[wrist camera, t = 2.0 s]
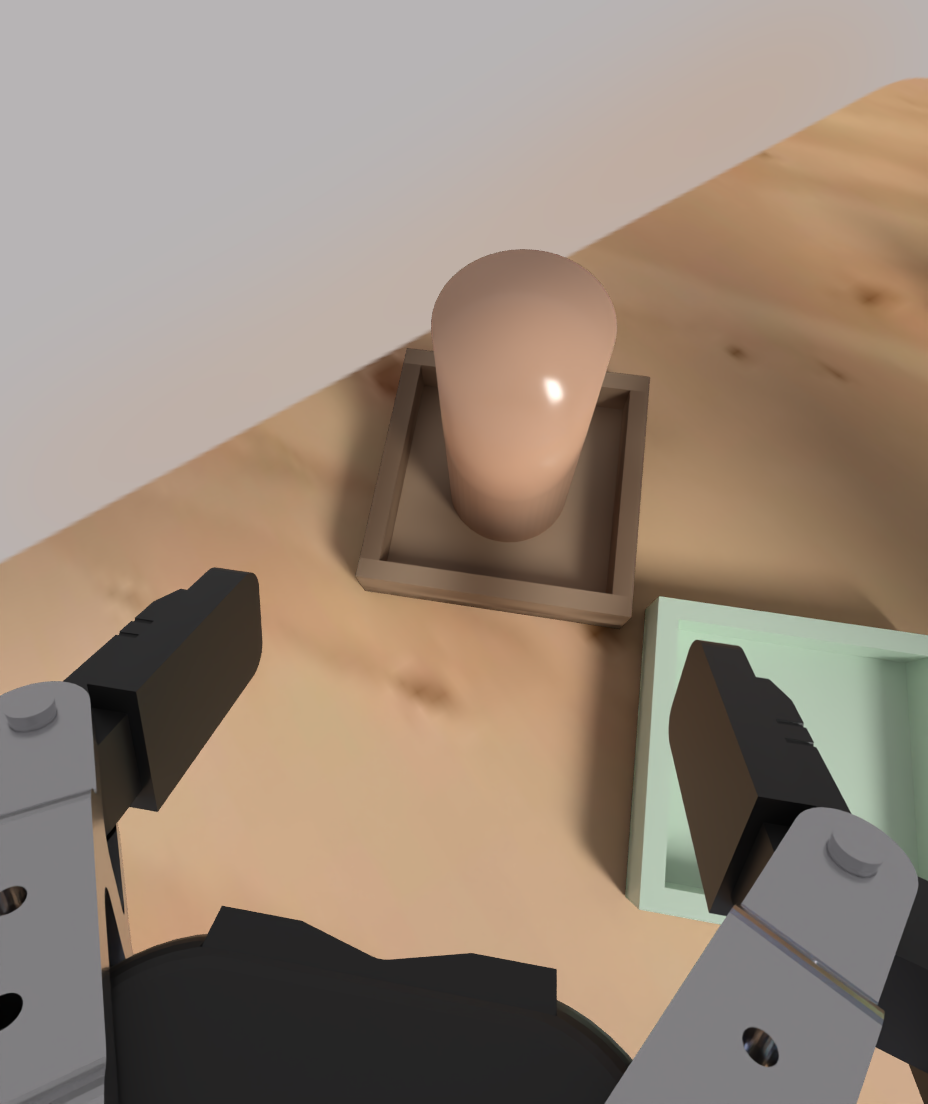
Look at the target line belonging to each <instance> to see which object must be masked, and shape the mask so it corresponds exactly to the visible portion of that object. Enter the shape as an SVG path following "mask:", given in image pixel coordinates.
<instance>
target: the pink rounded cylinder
mask: <svg viewBox="0 0 928 1104" xmlns="http://www.w3.org/2000/svg"><path fill="white" fill-rule="evenodd" d="M431 332H432V341H433V349H434V358H435V366H436V375H437V383H438V391H439V400H440V408H441V417H442V425H443V433H444V442H445V450H446V459H447V467H448V475H449V484H450V492H451V498H452V502H453V505H454V508H455V510H456V512H457V514H458V516H459V517H460V518H461V520H462V521H463V522H464V523H465V524H466V525H467V526H468V527H469V528H470V529H471V530H473V531H474V532H476V533H477V534H479V535H481V536H483V537H485V538H488V539H491V540H494V541H499V542H519V541H524V540H528V539H531V538H533V537H536V536H538V535H540V534H541V533H543V532H544V531H546V530H547V529H548V528H549V527H551V526H552V525H553V523H554V522H555V521H556V520H557V519H558V517H559V516H560V514H561V512H562V510H563V508H564V505H565V502H566V499H567V496H568V492H569V489H570V486H571V483H572V480H573V476H574V473H575V470H576V467H577V464H578V460H579V457H580V454H581V451H582V448H583V444H584V441H585V438H586V435H587V432H588V428H589V425H590V422H591V419H592V416H593V412H594V409H595V406H596V403H597V399H598V396H599V393H600V390H601V387H602V383H603V380H604V377H605V374H606V371H607V367H608V364H609V361H610V358H611V355H612V351H613V348H614V345H615V341H616V335H617V319H616V312H615V309H614V306H613V303H612V301H611V299H610V296H609V294H608V293H607V291H606V290H605V288H604V287H603V285H602V284H601V283H600V282H599V281H598V280H597V278H596V277H595V276H593V275H592V274H591V273H590V272H589V271H588V270H586V269H585V268H583V267H582V266H580V265H579V264H577V263H575V262H573V261H572V260H570V259H567V258H565V257H562V256H560V255H557V254H553V253H549V252H545V251H539V250H525V249H520V250H508V251H502V252H498V253H494V254H490V255H487V256H485V257H482V258H480V259H478V260H476V261H474V262H472V263H470V264H468V265H467V266H465V267H464V268H463V269H461V270H460V271H459V272H458V273H456V274H455V275H454V276H453V277H452V278H451V279H450V280H449V281H448V283H447V284H446V285H445V286H444V288H443V289H442V291H441V293H440V294H439V296H438V298H437V300H436V302H435V306H434V309H433V313H432V320H431Z"/></svg>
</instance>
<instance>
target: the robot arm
mask: <svg viewBox="0 0 928 1104" xmlns="http://www.w3.org/2000/svg"><path fill="white" fill-rule="evenodd" d="M261 653H262V628H261V613H260V597H259V583H258V579H257V577H256V575H255V574H254V573H249V572H243V571H236V570H229V569H222V568H211V569H210V570H208V571H207V572H206V573H205V574H204V575H203V576H202V577H201V578H200V579H199V580H197V581H196V582H195V583H194V584H193V585H192V586H191V587H190V588H189V589H188V590H184V589H179V590H177V591H175V592H173V593H171V594H169V595H166V596H164V597H162V598H160V599H158V600H156V601H154V602H153V603H151V604H150V605H149V606H148V607H147V608H146V609H145V610H143V611H142V612H141V613H140V614H139V615H138V616H137V617H135V621H131V622H130V623H129V624H128V625H126V626H125V627H124V628H123V629H122V630H121V631H120V633H119V635H115V636H114V637H113V638H112V639H111V640H109V641H108V642H107V643H106V644H105V645H104V646H103V647H101V648H100V649H99V650H98V651H97V652H96V653H95V654H93V655H92V656H91V657H90V658H89V659H88V660H87V661H86V662H84V663H83V664H82V665H81V666H80V667H79V668H78V669H76V670H75V671H74V672H73V673H72V674H71V675H70V676H69V677H67V678H66V679H65V680H64V681H63V682H61V681H50V682H41V683H35V684H30V685H26V686H23V687H20V688H17V689H14V690H12V691H9V692H7V693H5V694H3V695H1V696H0V1104H856V1103H857V1100H858V1097H859V1094H860V1091H861V1088H862V1085H863V1082H864V1079H865V1076H866V1073H867V1070H868V1067H869V1064H870V1061H871V1058H872V1055H873V1052H874V1049H875V1047H877V1048H878V1049H880V1050H882V1051H884V1052H886V1053H888V1054H890V1055H892V1056H894V1057H896V1058H898V1059H900V1060H902V1061H904V1062H906V1063H908V1064H909V1066H910V1069H911V1071H912V1074H913V1076H914V1079H915V1082H916V1084H917V1087H918V1089H919V1092H920V1095H921V1097H922V1100H923V1102H924V1104H928V881H927V880H925V879H923V878H921V877H918V876H917V874H916V871H915V868H914V866H913V864H912V863H911V861H910V859H909V858H908V856H907V855H906V854H905V852H904V851H903V850H902V849H901V848H900V847H899V845H898V844H897V843H896V842H895V841H893V840H892V839H891V838H890V837H889V836H888V835H887V834H885V833H884V832H883V831H881V830H880V829H879V828H877V827H876V826H874V825H872V824H871V823H869V822H867V821H866V820H864V819H862V818H860V817H858V816H855V815H853V814H851V812H850V810H849V808H848V806H847V804H846V802H845V800H844V798H843V797H842V795H841V793H840V791H839V789H838V787H837V785H836V783H835V781H834V779H833V778H832V776H831V774H830V772H829V770H828V768H827V766H826V764H825V762H824V760H823V758H822V757H821V755H820V753H819V751H818V749H817V747H814V741H813V739H812V738H811V736H810V734H809V732H808V730H807V728H805V727H804V722H803V720H802V719H801V717H800V715H799V713H798V711H797V709H796V707H795V705H794V703H793V701H792V700H791V699H790V698H789V697H788V696H787V695H786V694H785V693H784V692H783V691H781V690H780V689H779V688H778V687H777V686H776V685H775V684H774V683H773V682H772V681H771V680H770V679H766V678H760V677H756V676H755V674H754V672H753V670H752V668H751V665H750V663H749V661H748V659H747V657H746V655H745V653H744V651H743V649H742V648H741V647H740V646H737V645H730V644H724V643H717V642H710V641H703V640H695V641H694V642H693V643H692V644H691V646H690V648H689V651H688V654H687V658H686V661H685V664H684V667H683V671H682V674H681V677H680V681H679V684H678V687H677V690H676V694H675V697H674V700H673V703H672V707H671V711H670V716H669V728H668V734H669V743H670V748H671V752H672V757H673V761H674V765H675V770H676V774H677V778H678V782H679V787H680V791H681V795H682V800H683V804H684V808H685V813H686V817H687V821H688V825H689V830H690V834H691V838H692V843H693V847H694V851H695V856H696V860H697V864H698V868H699V873H700V877H701V881H702V886H703V890H704V894H705V899H706V903H707V907H708V912H709V913H711V914H717V915H722V916H726V918H725V919H724V921H723V922H722V924H721V925H720V927H719V929H718V930H717V932H716V933H715V935H714V936H713V938H712V939H711V941H710V942H709V944H708V945H707V947H706V949H705V950H704V952H703V953H702V955H701V956H700V958H699V959H698V961H697V962H696V964H695V965H694V967H693V968H692V970H691V972H690V973H689V975H688V976H687V978H686V979H685V981H684V982H683V984H682V985H681V987H680V988H679V990H678V992H677V993H676V995H675V996H674V998H673V999H672V1001H671V1002H670V1004H669V1005H668V1007H667V1008H666V1010H665V1012H664V1013H663V1015H662V1016H661V1018H660V1019H659V1021H658V1022H657V1024H656V1025H655V1027H654V1028H653V1030H652V1032H651V1033H650V1035H649V1036H648V1038H647V1039H646V1041H645V1042H644V1044H643V1045H642V1047H641V1048H640V1050H639V1052H638V1053H637V1055H636V1056H635V1058H634V1059H633V1060H632V1059H631V1057H630V1056H629V1055H628V1054H627V1053H626V1052H625V1051H624V1050H623V1049H622V1048H621V1047H620V1046H619V1045H618V1044H617V1043H616V1042H615V1041H614V1040H613V1039H612V1038H611V1037H610V1036H609V1035H608V1034H607V1033H605V1032H604V1031H603V1030H602V1029H601V1028H599V1027H598V1026H597V1025H596V1024H594V1023H593V1022H592V1021H591V1020H589V1019H588V1018H586V1017H585V1016H583V1015H582V1014H580V1013H579V1012H577V1011H576V1010H574V1009H573V1008H571V1007H569V1006H567V1005H565V1004H563V1003H562V1002H560V1001H558V1000H557V969H553V968H547V967H542V966H537V965H532V964H526V963H521V962H516V961H510V960H505V959H500V958H495V957H489V956H484V955H479V954H474V953H468V954H455V955H443V956H430V957H418V958H405V959H393V960H383V959H377V958H375V957H372V956H370V955H368V954H366V953H364V952H362V951H360V950H358V949H356V948H354V947H352V946H350V945H348V944H346V943H344V942H342V941H340V940H338V939H336V938H334V937H333V936H331V935H329V934H327V933H325V932H323V931H321V930H319V929H317V928H315V927H313V926H311V925H309V924H307V923H305V922H303V921H300V920H294V919H289V918H284V917H278V916H273V915H268V914H263V913H257V912H252V911H247V910H242V909H236V908H231V907H226V906H222V907H221V909H220V911H219V913H218V915H217V917H216V919H215V921H214V923H213V925H212V927H211V929H210V931H209V933H208V934H202V935H195V936H190V937H185V938H180V939H175V940H172V941H169V942H166V943H163V944H159V945H156V946H153V947H151V948H149V949H146V950H144V951H142V952H139V953H137V954H135V955H133V949H132V943H131V935H130V927H129V917H128V907H127V898H126V888H125V878H124V869H123V859H122V849H121V839H120V832H119V827H118V823H117V822H118V821H119V820H120V818H121V817H122V816H123V814H124V813H125V812H126V810H127V809H128V808H129V807H133V808H139V809H145V810H150V811H156V812H158V811H159V809H160V808H161V806H162V805H163V804H164V802H165V801H166V799H167V798H168V796H169V795H170V794H171V792H172V791H173V789H174V788H175V787H176V785H177V784H178V782H179V781H180V779H181V778H182V777H183V775H184V774H185V772H186V771H187V769H188V768H189V767H190V765H191V764H192V762H193V761H194V760H195V758H196V757H197V755H198V754H199V752H200V751H201V750H202V748H203V747H204V745H205V744H206V743H207V741H208V740H209V738H210V737H211V735H212V734H213V733H214V731H215V730H216V728H217V727H218V725H219V724H220V723H221V721H222V720H223V718H224V717H225V716H226V714H227V713H228V711H229V710H230V708H231V707H232V706H233V704H234V703H235V701H236V700H237V698H238V697H239V696H240V694H241V693H242V691H243V690H244V689H245V687H246V686H247V684H248V683H249V681H250V680H251V679H252V677H253V676H254V674H255V672H256V670H257V668H258V665H259V662H260V658H261Z"/></svg>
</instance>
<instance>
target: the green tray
mask: <svg viewBox="0 0 928 1104" xmlns="http://www.w3.org/2000/svg"><path fill="white" fill-rule="evenodd" d="M695 640H703V641H710V642H717V643H724V644H730V645H737V646H740V647H741V648H742V649H743V651H744V653H745V655H746V657H747V659H748V661H749V663H750V665H751V668H752V670H753V672H754V674H755V676H756V677H760V678H766V679H770V680H771V681H772V682H773V683H774V684H775V685H776V686H777V687H778V688H779V689H780V690H781V691H783V692H784V693H785V694H786V695H787V696H788V697H789V698H790V699H791V700H792V701H793V703H794V705H795V707H796V709H797V711H798V713H799V715H800V717H801V719H802V720H803V722H804V727H805V728H807V730H808V732H809V734H810V736H811V738H812V739H813V741H814V747H817V749H818V751H819V753H820V755H821V757H822V758H823V760H824V762H825V764H826V766H827V768H828V770H829V772H830V774H831V776H832V778H833V779H834V781H835V783H836V785H837V787H838V789H839V791H840V793H841V795H842V797H843V798H844V800H845V802H846V804H847V806H848V808H849V810H850V812H851V814H853V815H855V816H858V817H860V818H862V819H864V820H866V821H867V822H869V823H871V824H872V825H874V826H876V827H877V828H879V829H880V830H881V831H883V832H884V833H885V834H887V835H888V836H889V837H890V838H891V839H892V840H893V841H895V842H896V843H897V844H898V845H899V847H900V848H901V849H902V850H903V851H904V852H905V854H906V855H907V856H908V858H909V859H910V861H911V863H912V864H913V866H914V868H915V871H916V874H917V876H918V877H921V878H923V879H925V880H927V881H928V635H922V634H915V633H909V632H902V631H895V630H888V629H881V628H874V627H867V626H860V625H854V624H847V623H840V622H833V621H826V620H819V619H812V618H805V617H798V616H792V615H785V614H778V613H771V612H764V611H757V610H750V609H743V608H737V607H730V606H723V605H716V604H709V603H702V602H695V601H688V600H682V599H675V598H668V597H661V596H659V597H658V598H657V599H656V600H655V601H654V602H653V603H652V604H651V605H649V606H648V607H647V608H646V609H645V621H644V635H643V649H642V664H641V678H640V692H639V706H638V721H637V735H636V749H635V763H634V778H633V792H632V806H631V820H630V834H629V849H628V863H627V877H626V891H625V897H626V898H627V899H628V900H629V901H630V902H632V903H633V904H634V905H635V906H636V907H637V908H638V909H639V910H645V911H650V912H655V913H661V914H666V915H672V916H677V917H683V918H688V919H693V920H699V921H704V922H710V923H715V924H720V925H721V924H722V922H723V921H724V919H725V918H726V916H722V915H717V914H711V913H709V912H708V907H707V903H706V899H705V894H704V890H703V886H702V881H701V877H700V873H699V868H698V864H697V860H696V856H695V851H694V847H693V843H692V838H691V834H690V830H689V825H688V821H687V817H686V813H685V808H684V804H683V800H682V795H681V791H680V787H679V782H678V778H677V774H676V770H675V765H674V761H673V757H672V752H671V748H670V743H669V734H668V728H669V716H670V711H671V707H672V703H673V700H674V697H675V694H676V690H677V687H678V684H679V681H680V677H681V674H682V671H683V667H684V664H685V661H686V658H687V654H688V651H689V648H690V646H691V644H692V643H693V642H694V641H695Z"/></svg>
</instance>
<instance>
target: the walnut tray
mask: <svg viewBox="0 0 928 1104" xmlns="http://www.w3.org/2000/svg"><path fill="white" fill-rule="evenodd" d="M649 383H650V377H647V376H638V375H630V374H621V373H613V372H606V374H605V377H604V380H603V383H602V387H601V390H600V393H599V396H598V399H597V403H596V406H595V409H594V412H593V416H592V419H591V422H590V425H589V428H588V432H587V435H586V438H585V441H584V444H583V448H582V451H581V454H580V457H579V460H578V464H577V467H576V470H575V473H574V476H573V480H572V483H571V486H570V489H569V492H568V496H567V499H566V502H565V505H564V508H563V510H562V512H561V514H560V516H559V517H558V519H557V520H556V521H555V522H554V523H553V525H552V526H551V527H549V528H548V529H547V530H546V531H544V532H543V533H541V534H540V535H538V536H536V537H533V538H531V539H528V540H524V541H519V542H499V541H494V540H491V539H488V538H485V537H483V536H481V535H479V534H477V533H476V532H474V531H473V530H471V529H470V528H469V527H468V526H467V525H466V524H465V523H464V522H463V521H462V520H461V518H460V517H459V516H458V514H457V512H456V510H455V508H454V505H453V502H452V498H451V492H450V484H449V475H448V467H447V459H446V450H445V442H444V433H443V425H442V417H441V408H440V400H439V391H438V383H437V375H436V366H435V358H434V351H427V350H418V349H410V348H407V350H406V355H405V359H404V363H403V368H402V372H401V377H400V381H399V386H398V390H397V394H396V399H395V403H394V408H393V412H392V417H391V421H390V426H389V430H388V434H387V439H386V443H385V448H384V452H383V457H382V461H381V465H380V470H379V474H378V479H377V483H376V488H375V492H374V496H373V501H372V505H371V510H370V514H369V519H368V523H367V528H366V532H365V536H364V541H363V545H362V550H361V554H360V559H359V563H358V567H357V572H356V578H357V579H358V581H359V582H360V584H361V585H362V587H363V588H364V590H365V591H371V592H377V593H384V594H391V595H397V596H404V597H411V598H417V599H424V600H431V601H437V602H444V603H451V604H457V605H464V606H471V607H477V608H484V609H491V610H497V611H504V612H511V613H517V614H524V615H530V616H537V617H544V618H550V619H557V620H564V621H570V622H577V623H584V624H590V625H597V626H604V627H610V628H617V629H620V628H621V627H622V626H623V625H624V624H625V623H626V622H627V621H628V620H629V619H630V618H631V616H632V603H633V591H634V578H635V565H636V552H637V539H638V526H639V513H640V500H641V487H642V474H643V461H644V448H645V435H646V422H647V409H648V396H649Z"/></svg>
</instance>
